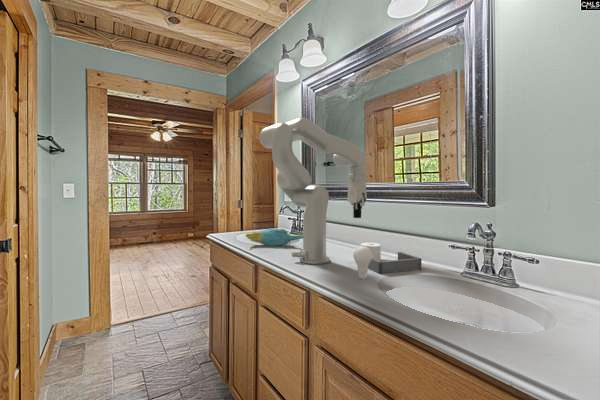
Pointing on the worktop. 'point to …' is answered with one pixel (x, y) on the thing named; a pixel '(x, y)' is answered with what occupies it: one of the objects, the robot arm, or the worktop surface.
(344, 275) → the worktop surface
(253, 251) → the worktop surface
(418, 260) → the box
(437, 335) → the worktop surface
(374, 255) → the toilet paper
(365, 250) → the lightbulb
